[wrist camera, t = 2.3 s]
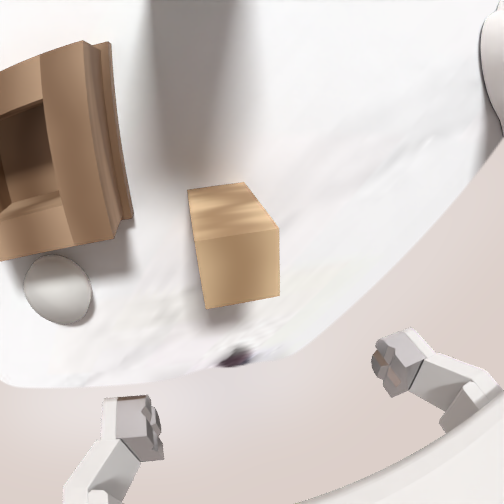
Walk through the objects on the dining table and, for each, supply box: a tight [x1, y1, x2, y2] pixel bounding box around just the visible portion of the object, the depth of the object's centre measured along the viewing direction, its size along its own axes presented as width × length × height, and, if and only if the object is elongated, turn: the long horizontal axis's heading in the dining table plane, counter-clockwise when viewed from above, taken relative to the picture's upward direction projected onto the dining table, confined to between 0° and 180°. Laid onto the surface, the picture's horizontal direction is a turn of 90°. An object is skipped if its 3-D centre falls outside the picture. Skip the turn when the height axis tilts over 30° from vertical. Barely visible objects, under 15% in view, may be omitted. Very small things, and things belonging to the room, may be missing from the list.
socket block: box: [0, 40, 134, 261], centre depth 14 cm, size 12×12×5 cm
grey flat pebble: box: [24, 255, 92, 324], centre depth 21 cm, size 6×6×2 cm
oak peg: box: [187, 182, 280, 309], centre depth 19 cm, size 4×4×8 cm
